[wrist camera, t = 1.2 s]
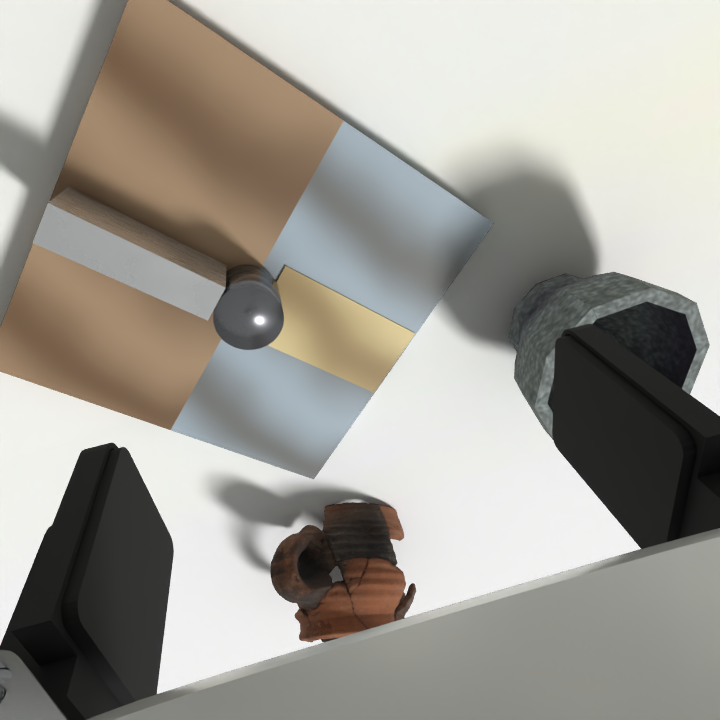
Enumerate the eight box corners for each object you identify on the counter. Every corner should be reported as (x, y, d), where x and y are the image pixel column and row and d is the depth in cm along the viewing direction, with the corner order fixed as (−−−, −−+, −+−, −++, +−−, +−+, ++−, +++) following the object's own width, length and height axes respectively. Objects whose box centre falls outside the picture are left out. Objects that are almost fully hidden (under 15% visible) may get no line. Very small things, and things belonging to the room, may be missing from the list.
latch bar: (290, 282, 27) (296, 305, 25) (261, 332, 28) (263, 360, 26) (74, 172, 23) (53, 186, 20) (48, 236, 24) (26, 257, 21)
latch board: (140, -18, 22) (136, -22, 20) (484, 217, 29) (494, 223, 28) (-6, 354, 28) (-16, 367, 27) (311, 467, 35) (314, 480, 34)
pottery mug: (431, 509, 41) (448, 631, 36) (344, 535, 46) (350, 643, 42) (311, 482, 33) (316, 633, 29) (224, 517, 38) (217, 648, 34)
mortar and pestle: (457, 307, 32) (563, 426, 22) (594, 213, 31) (775, 291, 20) (529, 422, 38) (640, 559, 27) (647, 346, 36) (810, 460, 26)
